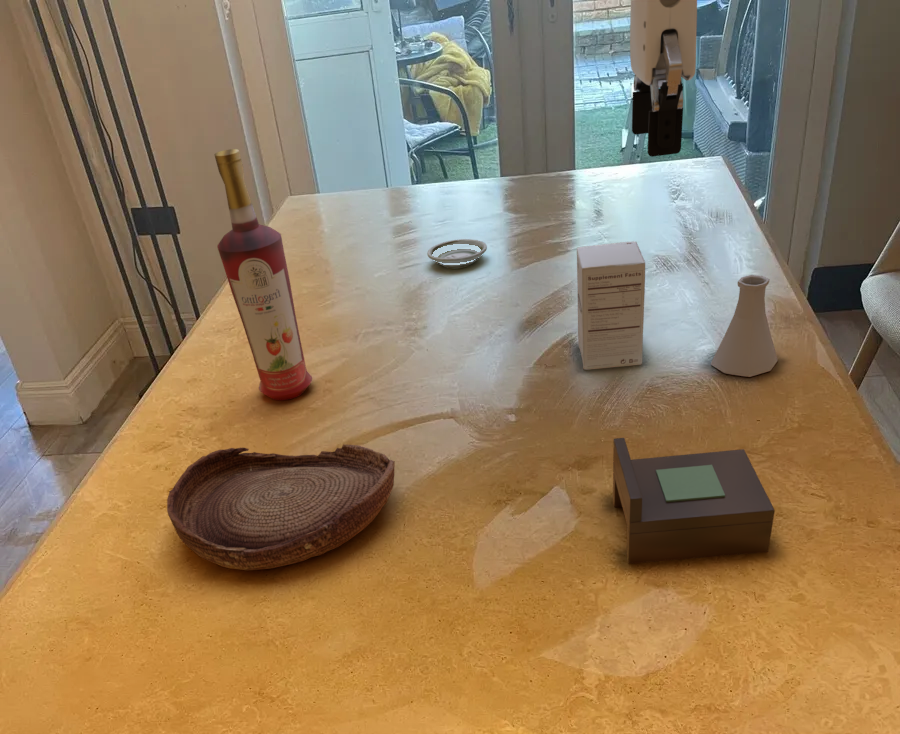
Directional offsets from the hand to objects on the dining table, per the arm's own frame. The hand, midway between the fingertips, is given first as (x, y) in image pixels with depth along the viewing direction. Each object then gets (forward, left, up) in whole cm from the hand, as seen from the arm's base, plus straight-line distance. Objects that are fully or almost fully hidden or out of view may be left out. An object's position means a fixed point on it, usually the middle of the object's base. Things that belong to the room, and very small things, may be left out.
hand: (655, 142), depth 88 cm
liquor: (+45, -2, -24) cm, 51 cm away
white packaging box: (+4, -3, -24) cm, 25 cm away
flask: (-11, +3, -24) cm, 27 cm away
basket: (+40, +27, -24) cm, 55 cm away
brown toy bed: (+2, +34, -24) cm, 42 cm away
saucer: (+23, -43, -24) cm, 54 cm away
